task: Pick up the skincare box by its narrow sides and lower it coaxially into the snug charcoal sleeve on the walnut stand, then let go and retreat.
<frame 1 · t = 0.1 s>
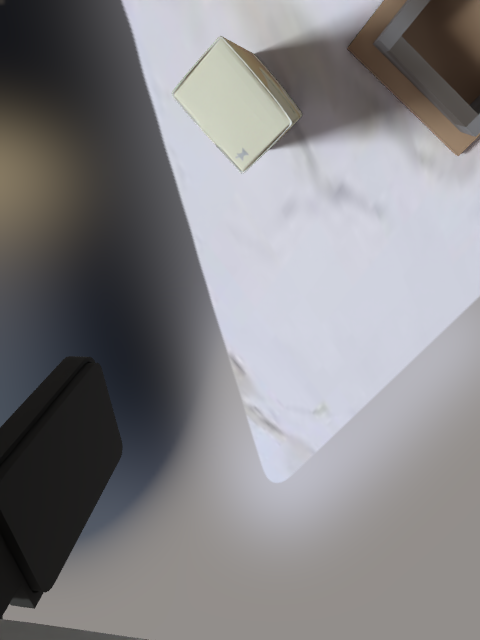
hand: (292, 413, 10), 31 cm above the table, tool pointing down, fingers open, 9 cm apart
sleeve stand: (457, 42, 31), on the table
skincare box: (258, 103, 35), on the table
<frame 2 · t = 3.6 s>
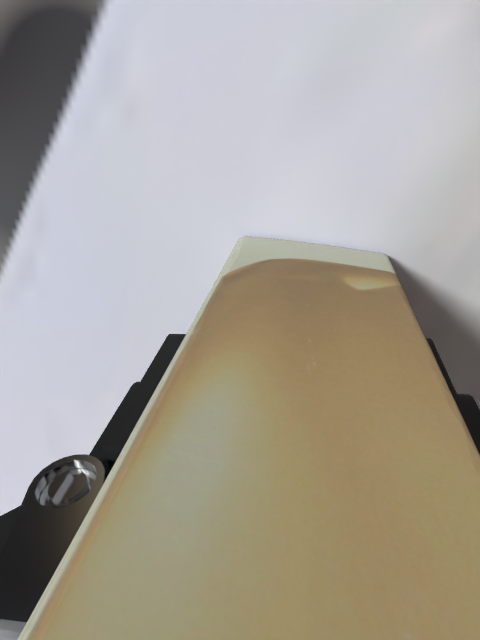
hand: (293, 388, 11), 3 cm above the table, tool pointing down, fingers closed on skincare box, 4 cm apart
skincare box: (298, 327, 13), on the table, touching gripper
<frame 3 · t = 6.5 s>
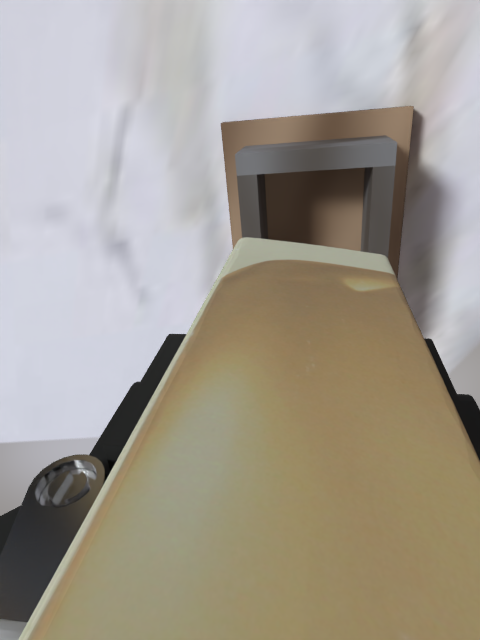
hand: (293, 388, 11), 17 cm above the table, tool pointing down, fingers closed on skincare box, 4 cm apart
sleeve stand: (313, 223, 26), on the table
skincare box: (297, 328, 13), point 14 cm above the table, touching gripper
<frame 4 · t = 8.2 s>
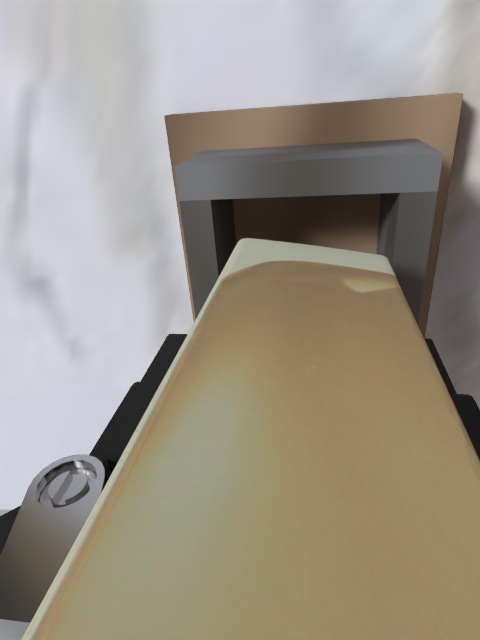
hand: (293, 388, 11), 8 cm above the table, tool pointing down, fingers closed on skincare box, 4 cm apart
sleeve stand: (305, 262, 18), on the table
skincare box: (298, 329, 13), point 5 cm above the table, touching gripper
when the fingers open (6 cm above the table, at t = 9.6 s): skincare box drops 2 cm, resting on sleeve stand.
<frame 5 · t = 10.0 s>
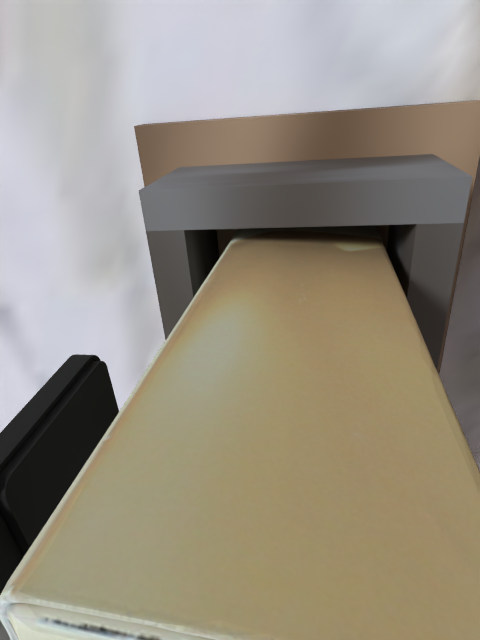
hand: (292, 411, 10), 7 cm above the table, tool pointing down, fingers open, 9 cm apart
sleeve stand: (300, 293, 16), on the table
skincare box: (301, 297, 15), point 1 cm above the table, touching sleeve stand
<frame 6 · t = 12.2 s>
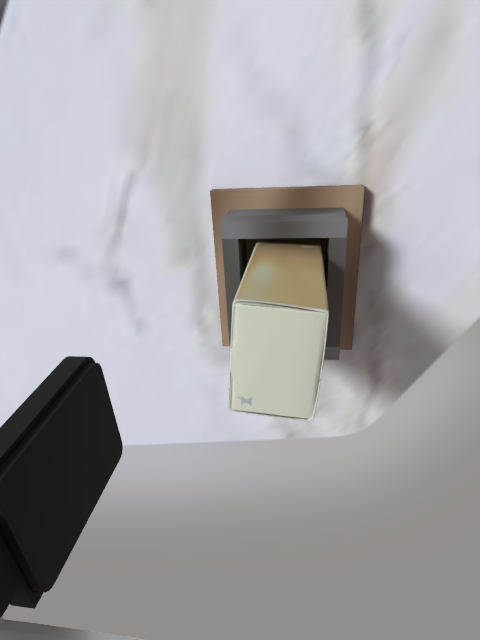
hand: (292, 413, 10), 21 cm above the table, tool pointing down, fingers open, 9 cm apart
sleeve stand: (286, 271, 31), on the table
skincare box: (286, 272, 30), point 1 cm above the table, touching sleeve stand
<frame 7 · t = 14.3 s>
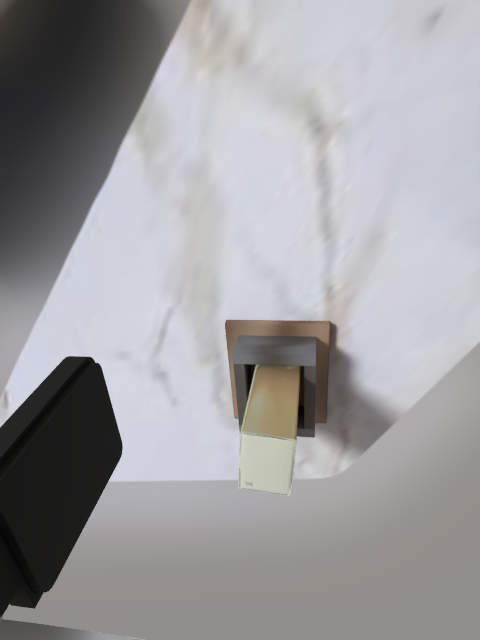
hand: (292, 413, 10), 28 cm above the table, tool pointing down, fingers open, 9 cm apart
sleeve stand: (278, 371, 44), on the table
skincare box: (278, 373, 43), point 1 cm above the table, touching sleeve stand
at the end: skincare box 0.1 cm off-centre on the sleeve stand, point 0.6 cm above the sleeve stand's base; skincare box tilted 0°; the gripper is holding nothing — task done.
